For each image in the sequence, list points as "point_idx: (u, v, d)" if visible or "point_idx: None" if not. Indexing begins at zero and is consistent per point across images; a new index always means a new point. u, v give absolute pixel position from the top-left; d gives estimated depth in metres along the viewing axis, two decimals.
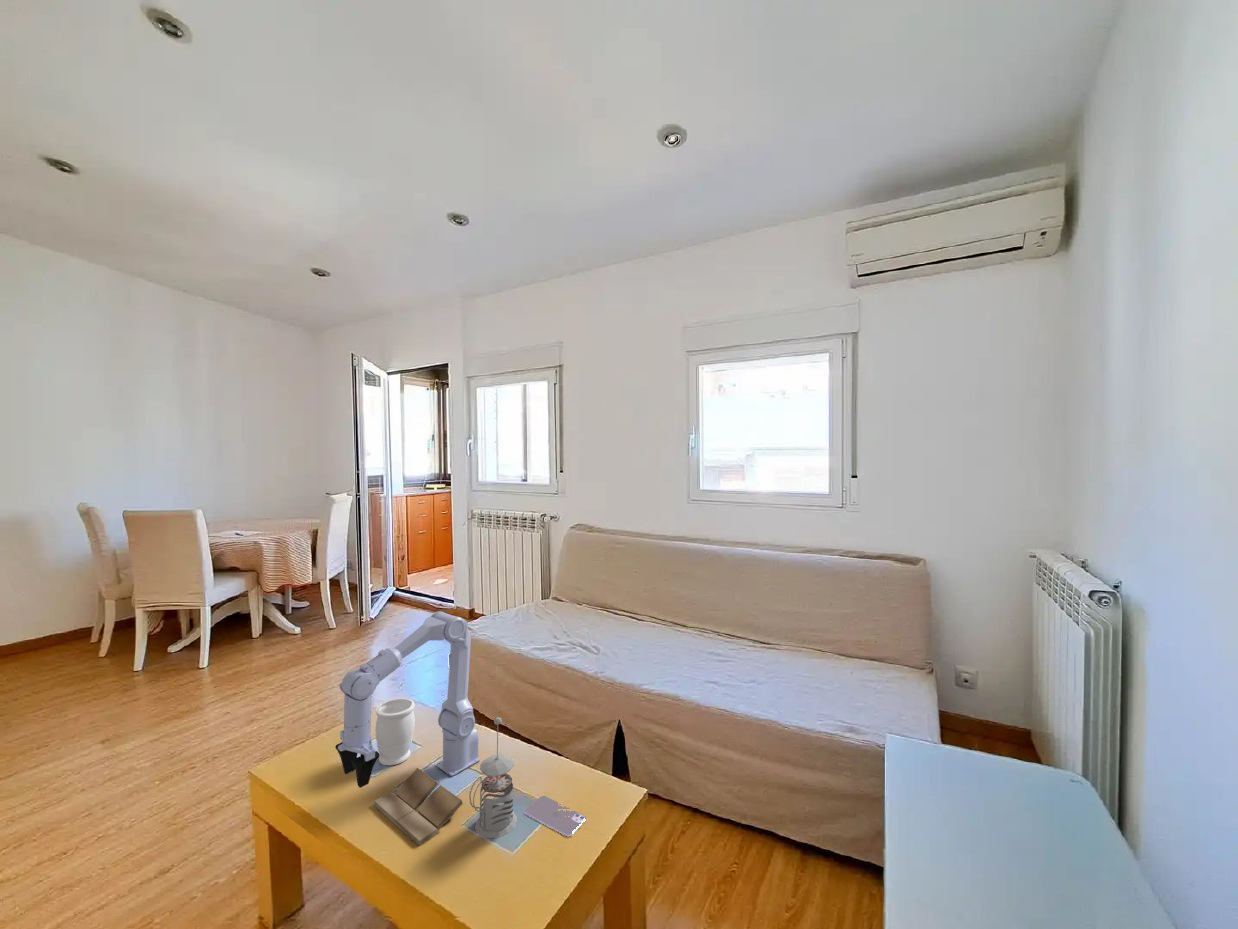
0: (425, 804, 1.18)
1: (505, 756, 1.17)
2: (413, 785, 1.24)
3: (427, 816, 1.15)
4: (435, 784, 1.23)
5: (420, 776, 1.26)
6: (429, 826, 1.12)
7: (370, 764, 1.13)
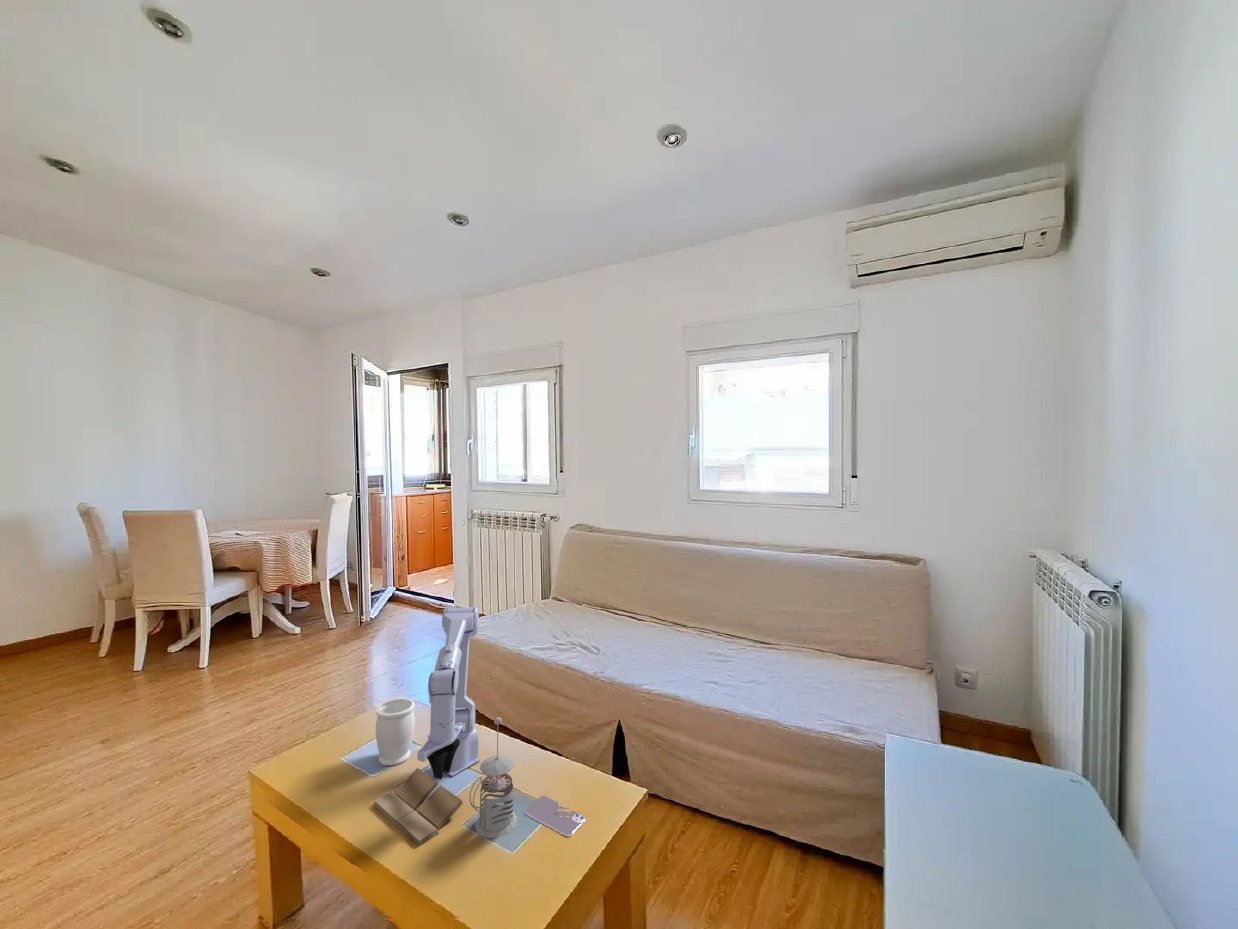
0: (425, 804, 1.18)
1: (505, 756, 1.17)
2: (413, 785, 1.24)
3: (427, 816, 1.15)
4: (435, 784, 1.23)
5: (420, 776, 1.26)
6: (429, 826, 1.12)
7: None
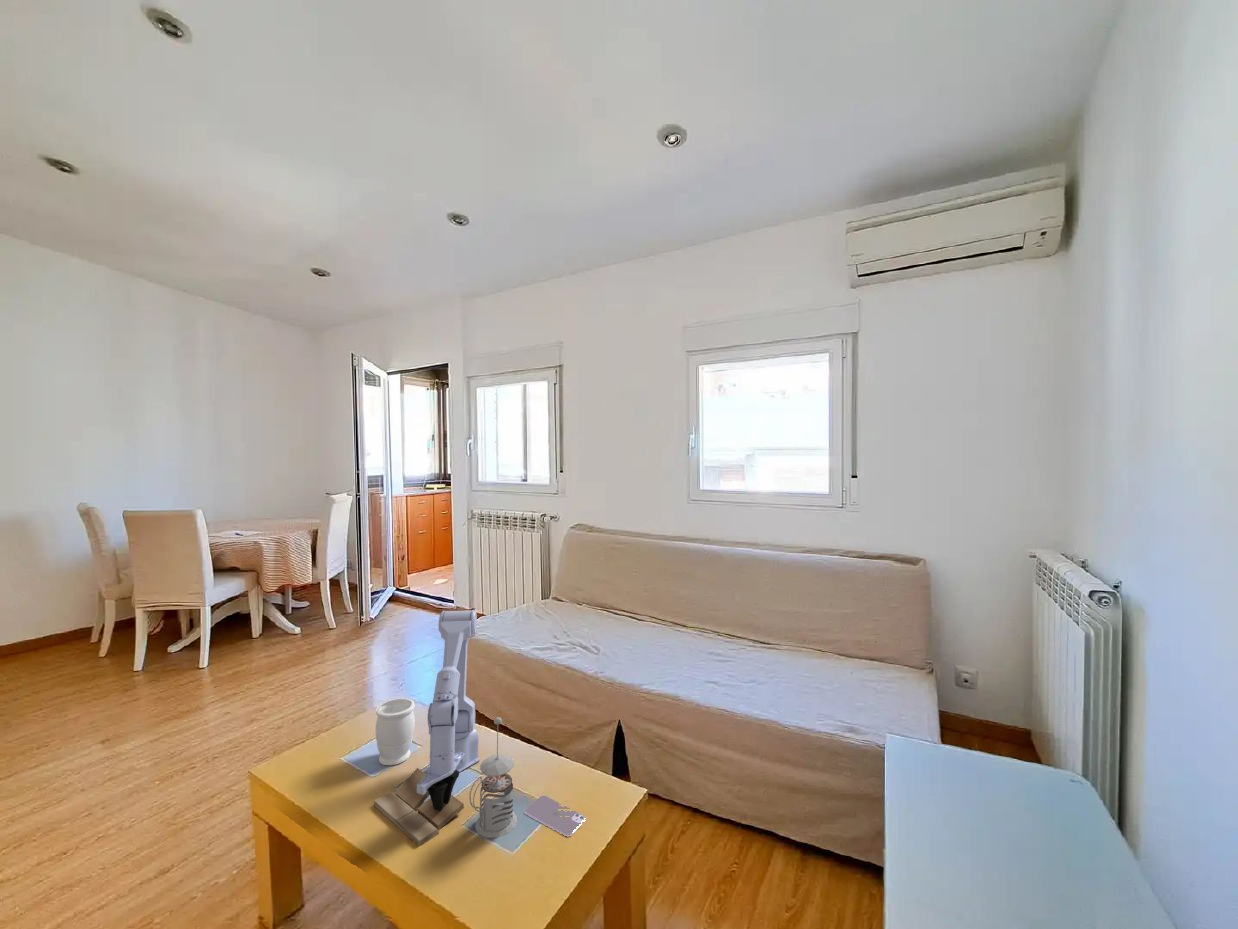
0: (426, 804, 1.18)
1: (505, 756, 1.17)
2: (413, 785, 1.24)
3: (428, 815, 1.15)
4: None
5: (420, 776, 1.26)
6: (429, 826, 1.12)
7: None
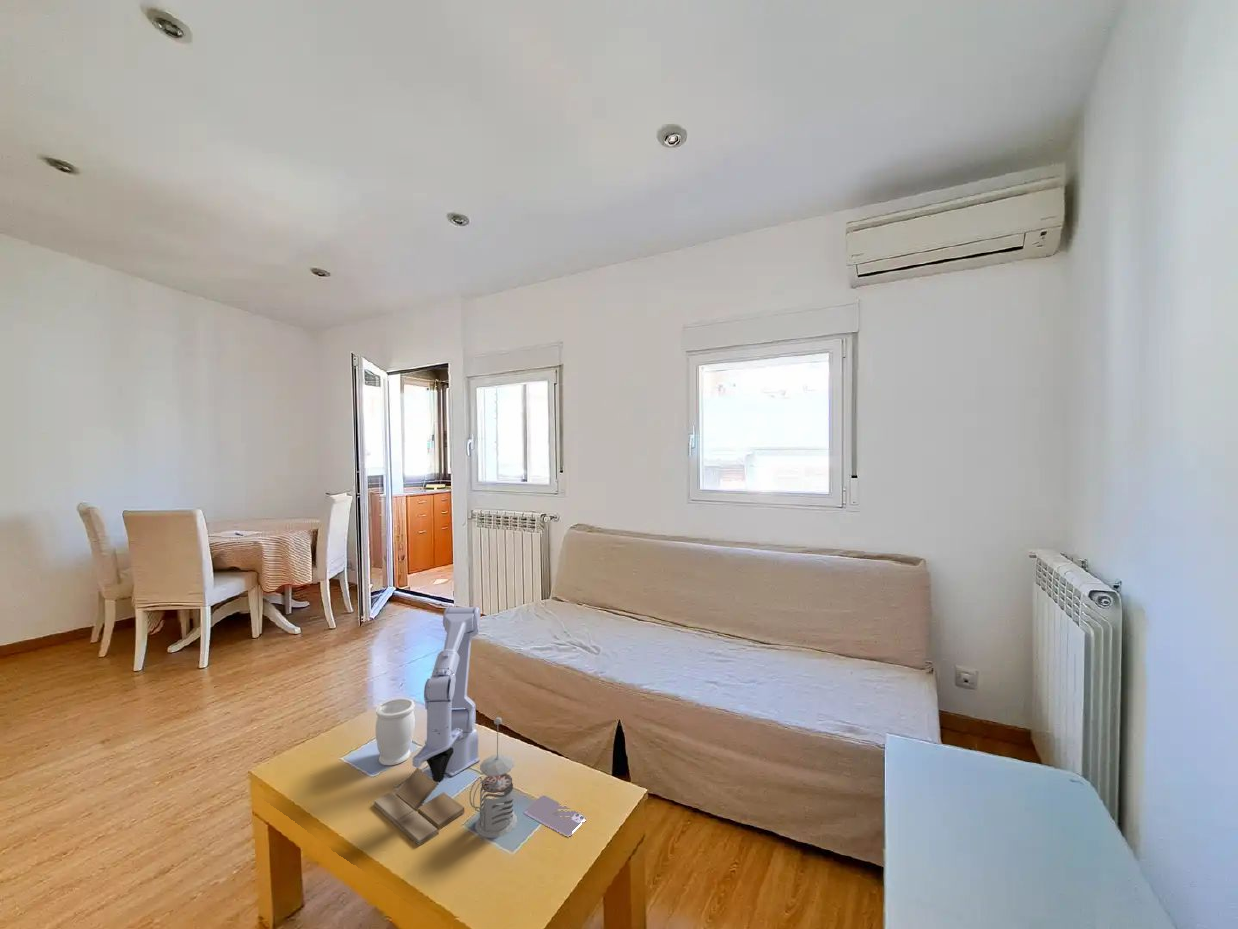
0: (427, 805, 1.19)
1: (505, 756, 1.17)
2: (413, 785, 1.24)
3: (429, 815, 1.15)
4: (435, 784, 1.23)
5: (420, 776, 1.26)
6: (429, 826, 1.12)
7: None
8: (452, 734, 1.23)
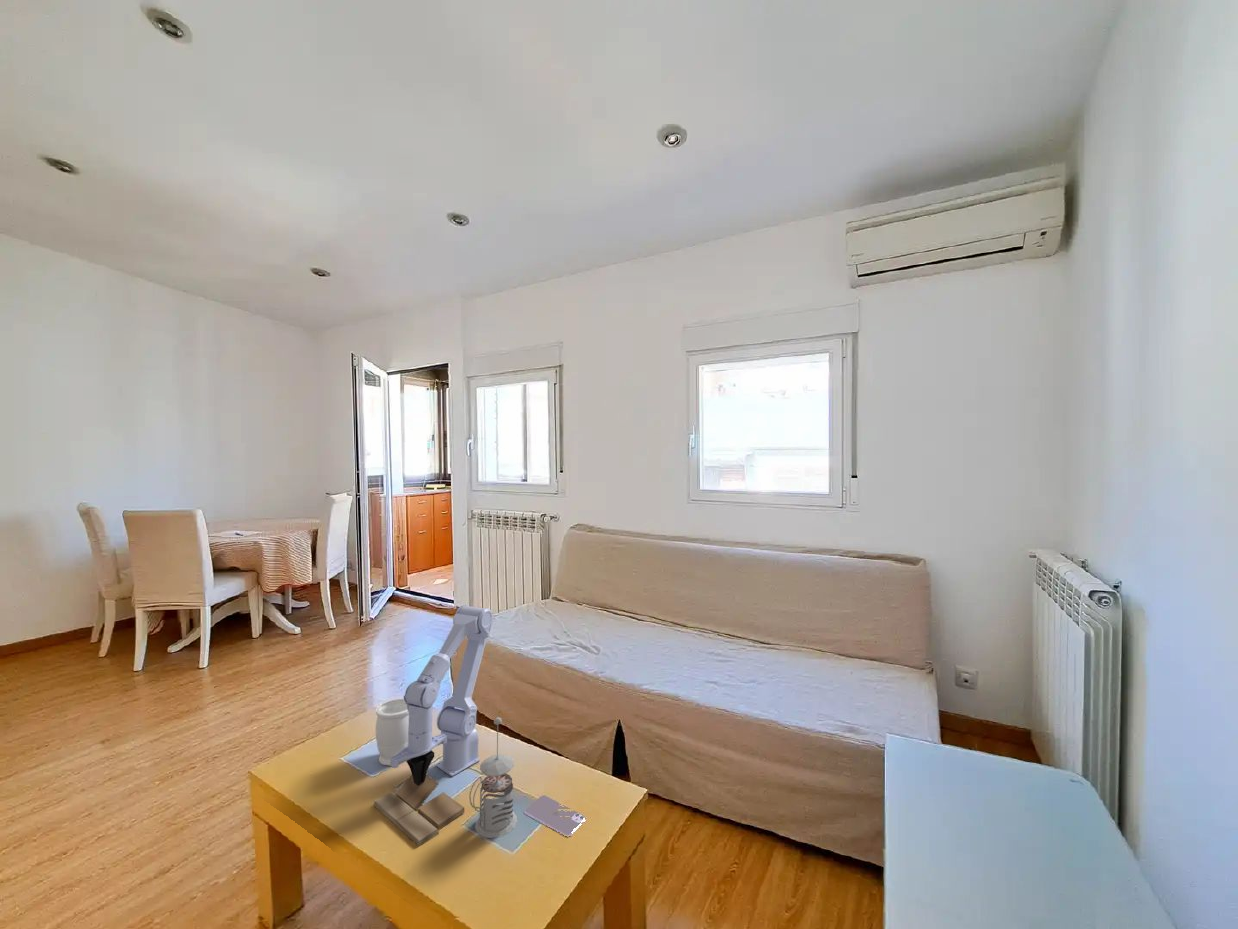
0: (427, 805, 1.19)
1: (505, 756, 1.17)
2: (413, 785, 1.24)
3: (429, 815, 1.15)
4: (435, 784, 1.23)
5: None
6: (429, 826, 1.12)
7: None
8: (435, 739, 1.28)
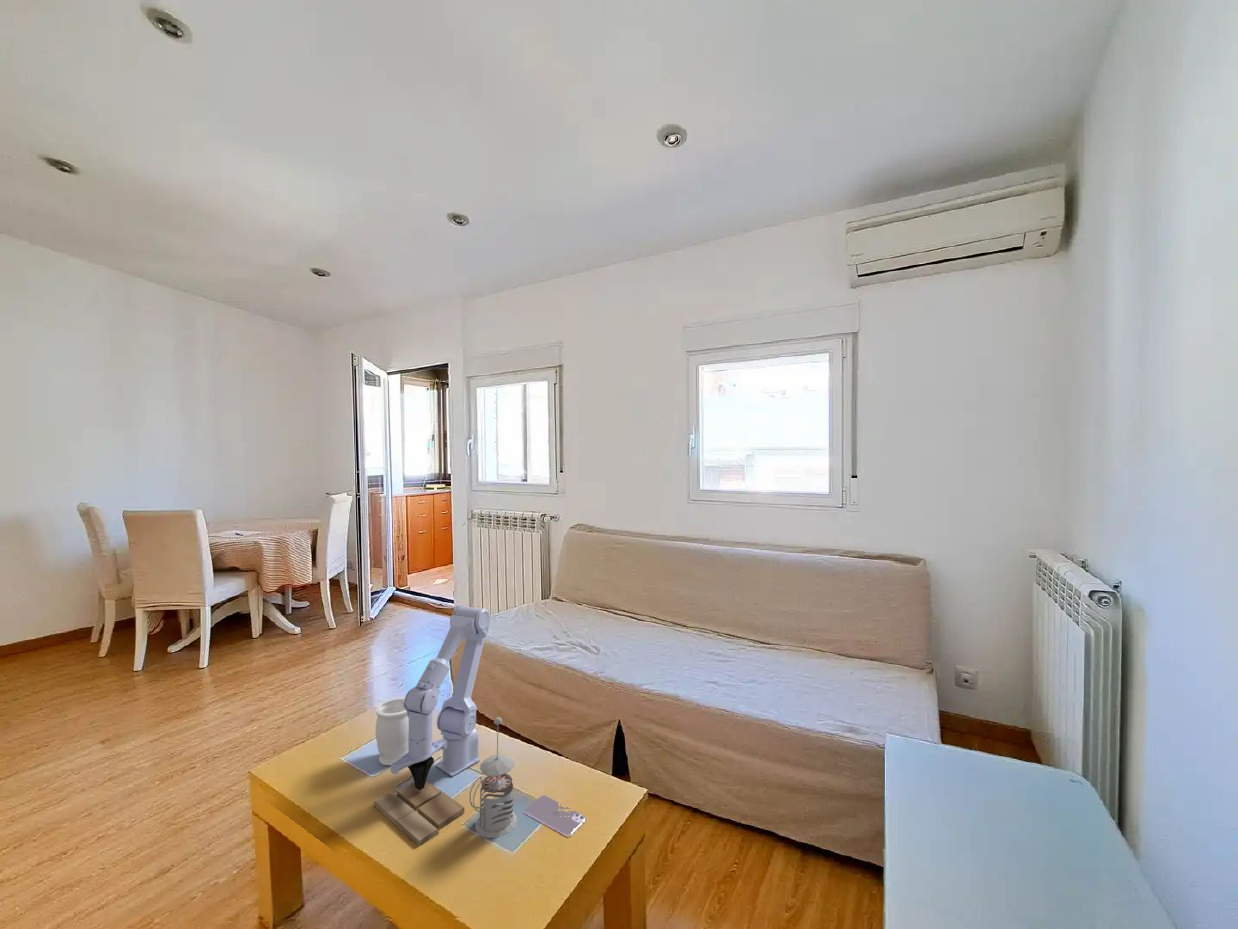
0: (427, 805, 1.19)
1: (505, 756, 1.17)
2: (417, 789, 1.25)
3: (429, 815, 1.15)
4: (439, 794, 1.24)
5: (425, 784, 1.27)
6: (429, 826, 1.12)
7: None
8: (436, 744, 1.28)
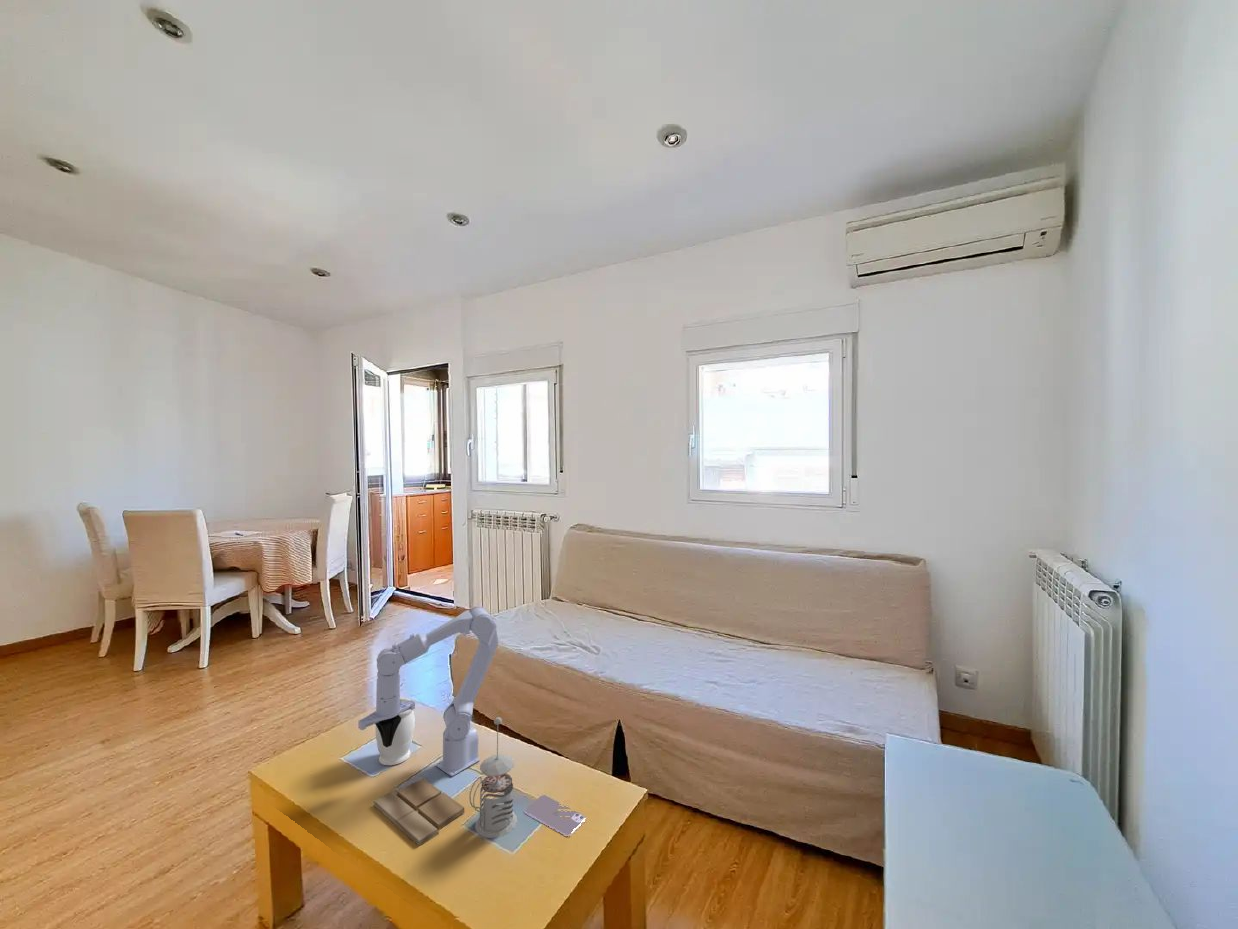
0: (427, 805, 1.19)
1: (505, 756, 1.17)
2: (417, 789, 1.25)
3: (429, 815, 1.15)
4: (439, 794, 1.24)
5: (425, 784, 1.27)
6: (429, 826, 1.12)
7: None
8: (404, 705, 1.33)
